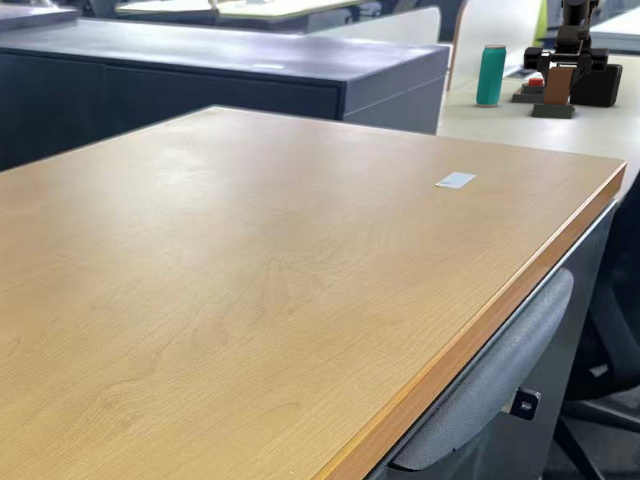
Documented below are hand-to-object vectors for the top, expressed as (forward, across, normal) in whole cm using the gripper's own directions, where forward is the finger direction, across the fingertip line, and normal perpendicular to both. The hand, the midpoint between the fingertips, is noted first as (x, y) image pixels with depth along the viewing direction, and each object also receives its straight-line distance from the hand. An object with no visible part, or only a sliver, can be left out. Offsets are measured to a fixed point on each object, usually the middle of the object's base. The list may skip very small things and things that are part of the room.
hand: (557, 87), depth 209 cm
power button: (-13, -8, +18) cm, 24 cm away
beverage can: (-1, -17, +11) cm, 20 cm away
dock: (+4, 0, +6) cm, 7 cm away
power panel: (-11, -8, +20) cm, 24 cm away
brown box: (+4, 0, +6) cm, 7 cm away
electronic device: (-8, +7, +18) cm, 21 cm away
